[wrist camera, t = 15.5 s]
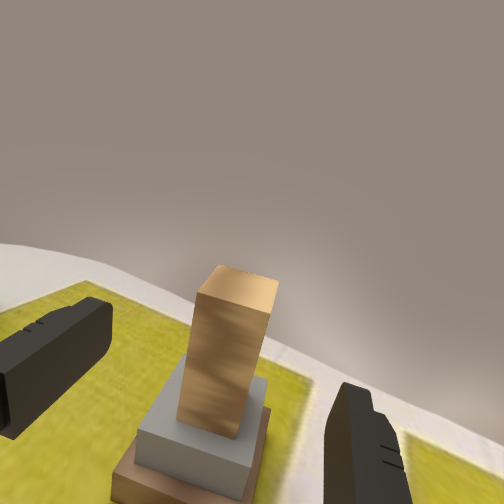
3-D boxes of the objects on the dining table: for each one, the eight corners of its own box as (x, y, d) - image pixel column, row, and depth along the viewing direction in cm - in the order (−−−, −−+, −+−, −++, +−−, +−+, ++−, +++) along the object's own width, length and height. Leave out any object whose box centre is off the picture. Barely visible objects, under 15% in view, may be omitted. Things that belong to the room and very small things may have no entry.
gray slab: (259, 408, 32) (267, 379, 30) (240, 501, 23) (251, 468, 22) (179, 382, 33) (184, 353, 31) (134, 463, 24) (137, 428, 23)
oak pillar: (247, 392, 28) (279, 281, 24) (234, 440, 24) (270, 313, 19) (197, 376, 29) (219, 264, 24) (175, 420, 24) (197, 291, 20)
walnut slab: (262, 434, 33) (271, 408, 32) (236, 558, 23) (246, 528, 22) (172, 400, 35) (176, 374, 33) (110, 503, 25) (112, 471, 23)
